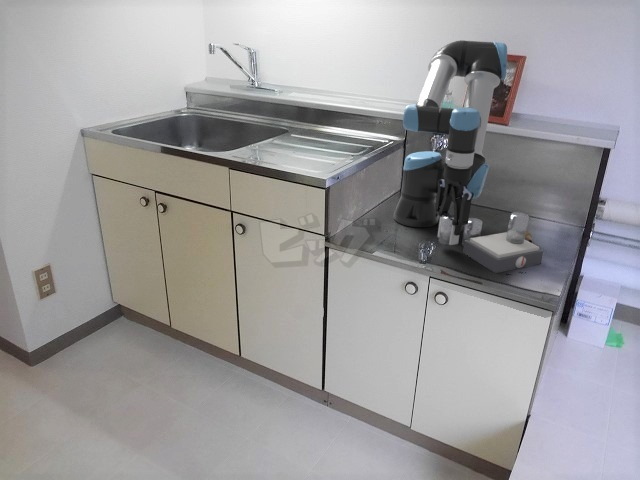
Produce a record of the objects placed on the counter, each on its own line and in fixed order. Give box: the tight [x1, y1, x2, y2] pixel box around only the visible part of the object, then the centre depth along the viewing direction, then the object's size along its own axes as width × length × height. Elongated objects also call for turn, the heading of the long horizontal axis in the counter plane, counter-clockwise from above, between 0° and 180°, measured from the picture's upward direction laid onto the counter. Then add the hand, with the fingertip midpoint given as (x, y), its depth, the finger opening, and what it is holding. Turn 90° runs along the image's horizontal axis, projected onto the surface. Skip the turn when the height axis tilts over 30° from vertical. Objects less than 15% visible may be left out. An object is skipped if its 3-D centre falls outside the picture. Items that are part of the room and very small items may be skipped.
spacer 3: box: [506, 211, 530, 244], centre depth 149 cm, size 5×5×8 cm
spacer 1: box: [438, 213, 459, 246], centre depth 153 cm, size 5×5×8 cm
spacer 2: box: [461, 217, 483, 247], centre depth 158 cm, size 5×5×8 cm
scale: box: [462, 231, 545, 274], centre depth 150 cm, size 15×17×5 cm
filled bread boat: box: [507, 224, 534, 244], centre depth 164 cm, size 5×14×4 cm, turn 3°
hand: (447, 239), depth 154 cm, fingers closed on spacer 1, 5 cm apart
